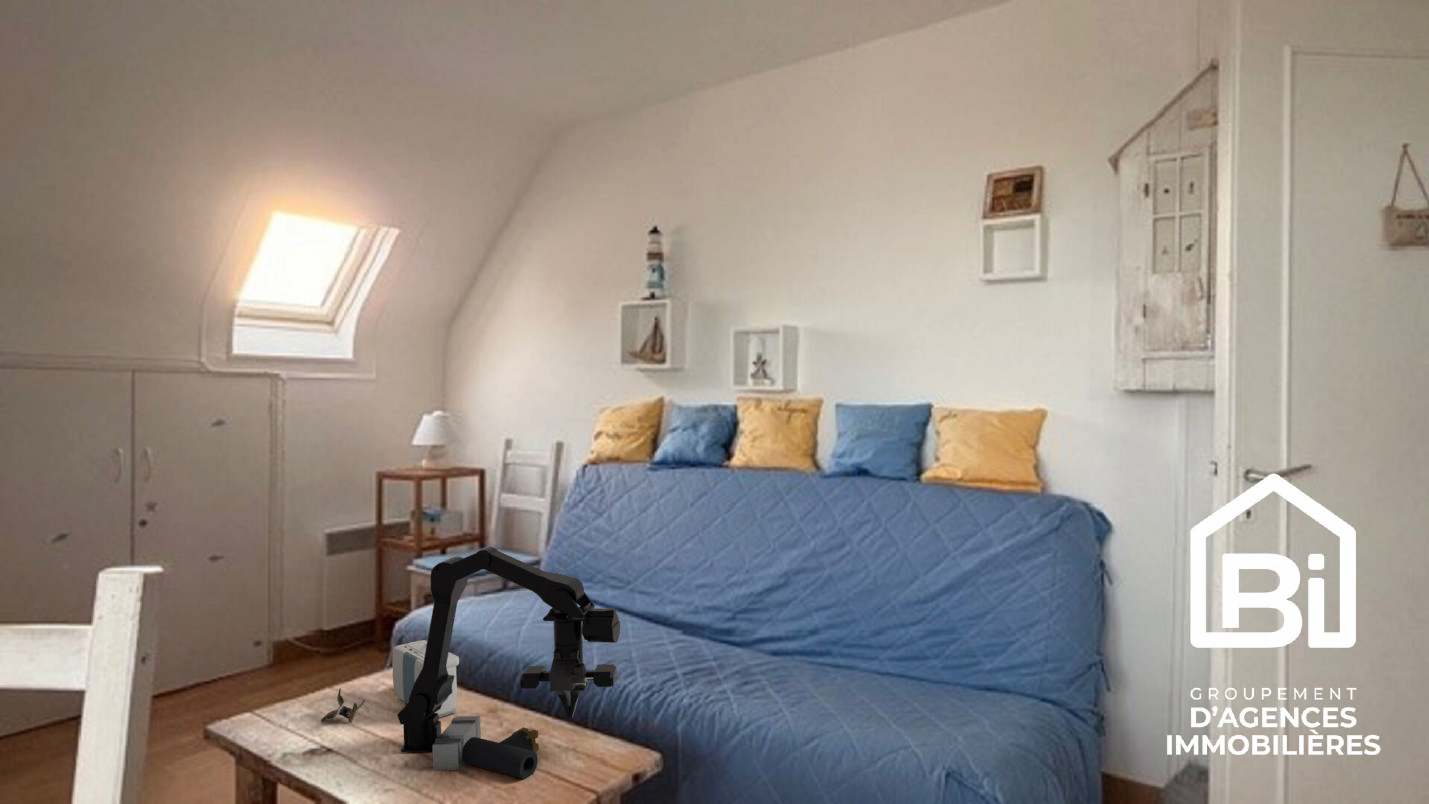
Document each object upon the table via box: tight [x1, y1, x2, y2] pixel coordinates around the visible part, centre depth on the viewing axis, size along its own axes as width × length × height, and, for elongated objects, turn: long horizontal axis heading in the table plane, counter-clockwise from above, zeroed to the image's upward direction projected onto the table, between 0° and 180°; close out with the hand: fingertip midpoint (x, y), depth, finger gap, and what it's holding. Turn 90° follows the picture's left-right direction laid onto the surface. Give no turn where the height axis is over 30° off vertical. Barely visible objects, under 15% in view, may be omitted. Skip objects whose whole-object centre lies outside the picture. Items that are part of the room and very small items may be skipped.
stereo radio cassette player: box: [391, 639, 460, 719], centre depth 190 cm, size 21×8×20 cm, turn 43°
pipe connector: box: [462, 726, 540, 780], centre depth 159 cm, size 12×5×15 cm
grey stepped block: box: [432, 715, 482, 771], centre depth 164 cm, size 5×14×5 cm, turn 179°
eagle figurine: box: [320, 688, 366, 724], centre depth 183 cm, size 8×7×9 cm
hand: (570, 718), depth 163 cm, fingers closed
